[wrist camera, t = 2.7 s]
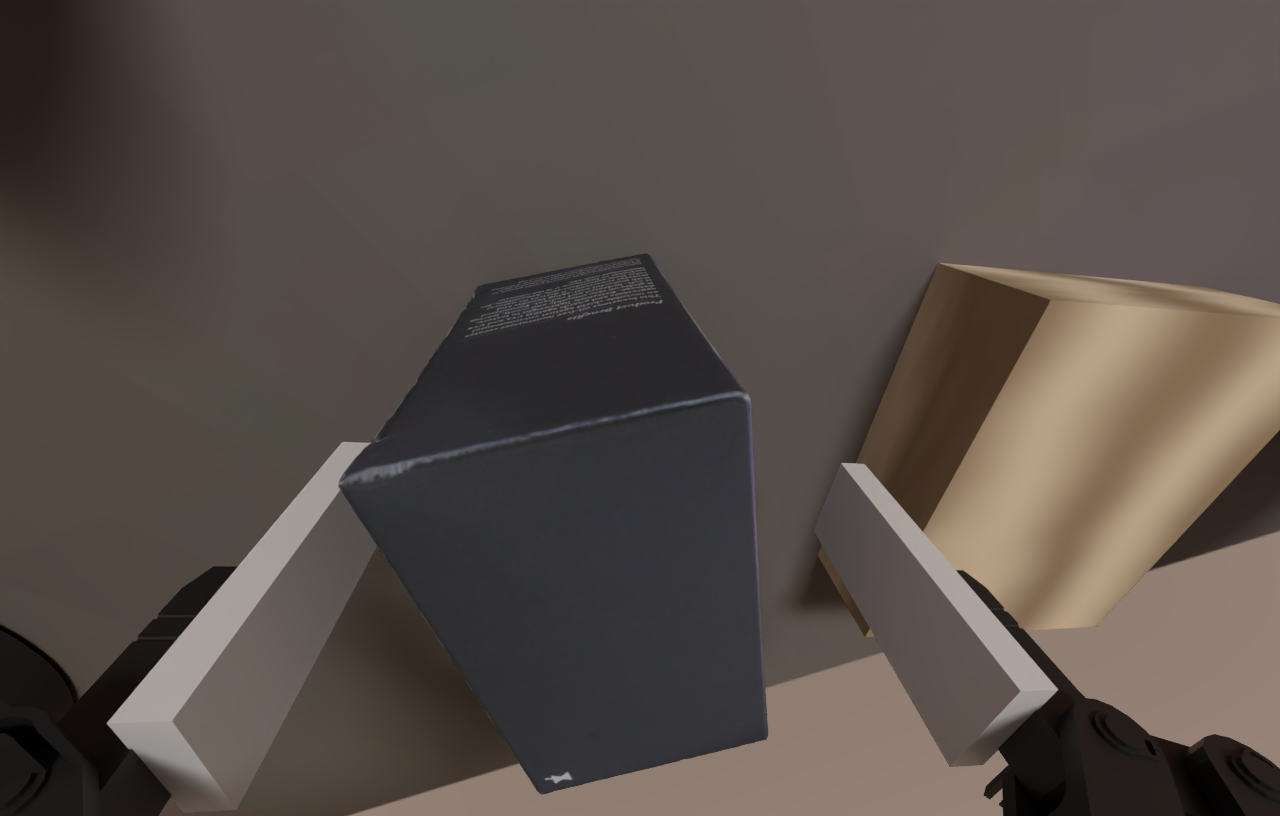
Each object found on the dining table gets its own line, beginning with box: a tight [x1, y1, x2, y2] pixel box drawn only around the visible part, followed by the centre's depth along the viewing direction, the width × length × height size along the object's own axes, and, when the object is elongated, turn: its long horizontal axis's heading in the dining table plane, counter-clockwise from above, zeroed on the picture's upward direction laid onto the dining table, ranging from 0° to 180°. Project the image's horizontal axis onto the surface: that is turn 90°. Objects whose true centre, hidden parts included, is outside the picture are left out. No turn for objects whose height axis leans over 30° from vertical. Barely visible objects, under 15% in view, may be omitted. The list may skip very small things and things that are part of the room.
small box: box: [338, 254, 768, 794], centre depth 13 cm, size 11×6×10 cm, turn 10°
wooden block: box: [818, 263, 1280, 637], centre depth 19 cm, size 12×15×5 cm
